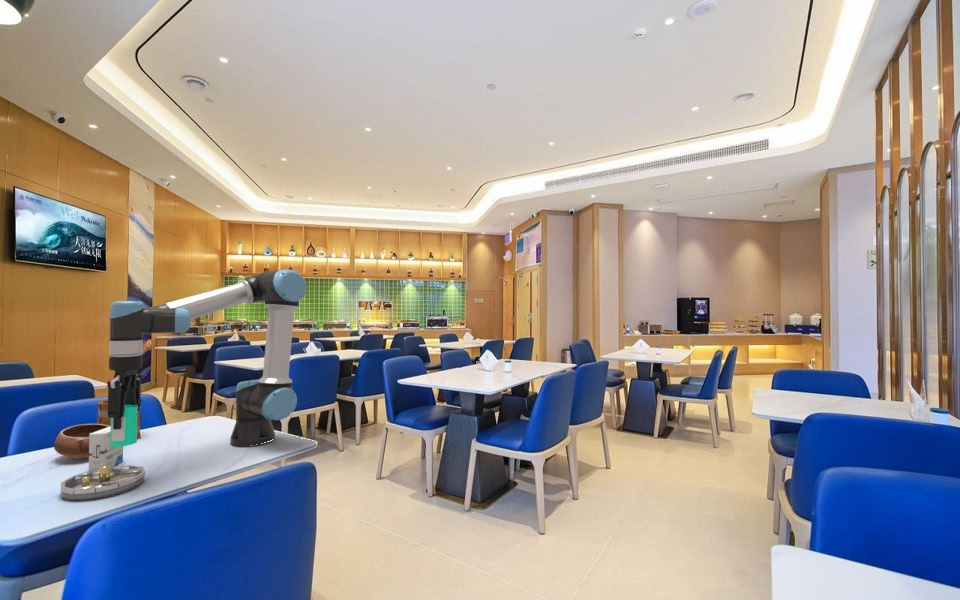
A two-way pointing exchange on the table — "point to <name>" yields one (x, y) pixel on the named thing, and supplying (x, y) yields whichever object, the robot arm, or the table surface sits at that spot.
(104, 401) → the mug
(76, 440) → the bowl
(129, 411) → the candle
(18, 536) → the table surface
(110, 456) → the ink box
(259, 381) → the robot arm
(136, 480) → the carrier
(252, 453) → the table surface
